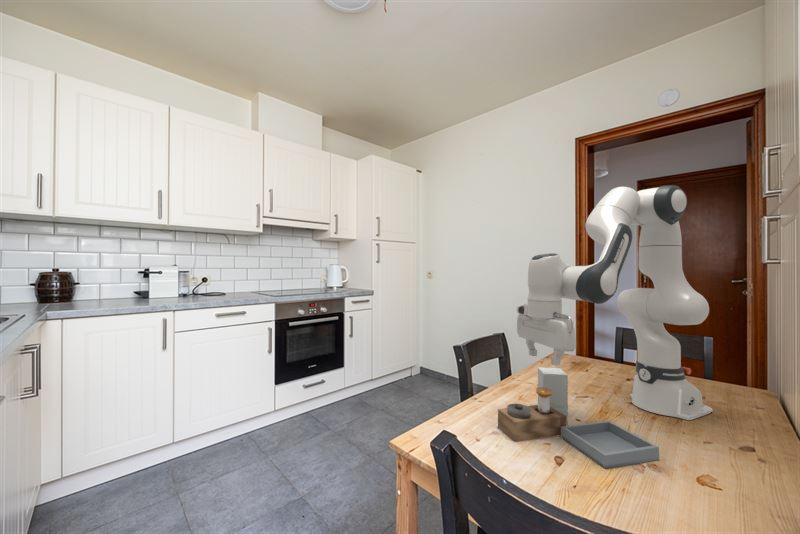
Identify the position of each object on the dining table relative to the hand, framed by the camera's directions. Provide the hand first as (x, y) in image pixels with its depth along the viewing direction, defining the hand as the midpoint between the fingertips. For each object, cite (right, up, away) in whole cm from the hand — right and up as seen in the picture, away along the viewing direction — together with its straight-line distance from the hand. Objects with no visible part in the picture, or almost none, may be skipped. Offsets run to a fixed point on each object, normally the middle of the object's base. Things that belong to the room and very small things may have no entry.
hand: (543, 359), depth 90 cm
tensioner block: (-4, -19, -1) cm, 20 cm away
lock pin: (0, -19, 0) cm, 19 cm away
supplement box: (+8, -20, +12) cm, 25 cm away
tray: (+12, -19, -10) cm, 25 cm away
